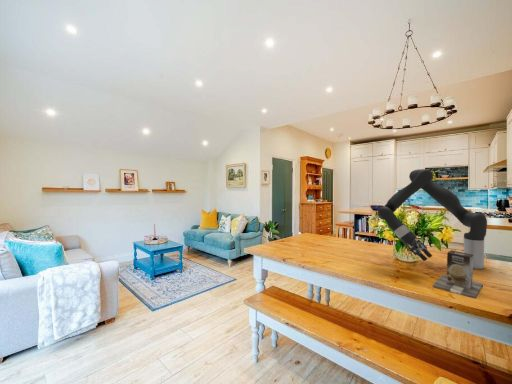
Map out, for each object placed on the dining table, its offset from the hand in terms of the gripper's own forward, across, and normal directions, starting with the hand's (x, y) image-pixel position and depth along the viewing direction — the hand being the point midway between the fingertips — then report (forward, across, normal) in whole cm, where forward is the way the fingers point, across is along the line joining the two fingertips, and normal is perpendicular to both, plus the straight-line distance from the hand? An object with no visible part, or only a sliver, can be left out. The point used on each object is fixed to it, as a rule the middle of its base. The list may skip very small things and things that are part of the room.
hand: (428, 258), depth 128 cm
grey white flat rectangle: (+17, 0, -1) cm, 17 cm away
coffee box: (+17, 0, -2) cm, 17 cm away
